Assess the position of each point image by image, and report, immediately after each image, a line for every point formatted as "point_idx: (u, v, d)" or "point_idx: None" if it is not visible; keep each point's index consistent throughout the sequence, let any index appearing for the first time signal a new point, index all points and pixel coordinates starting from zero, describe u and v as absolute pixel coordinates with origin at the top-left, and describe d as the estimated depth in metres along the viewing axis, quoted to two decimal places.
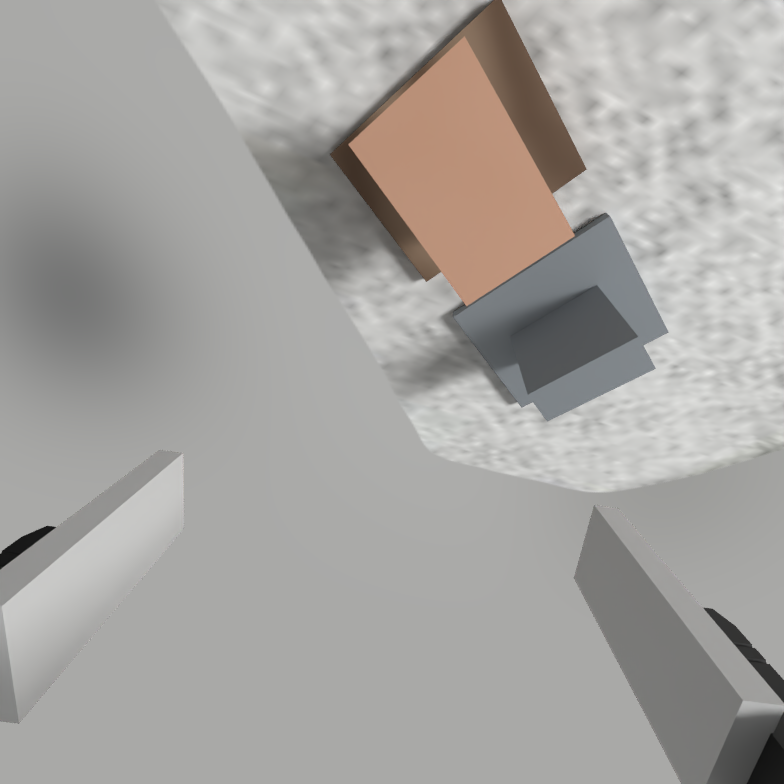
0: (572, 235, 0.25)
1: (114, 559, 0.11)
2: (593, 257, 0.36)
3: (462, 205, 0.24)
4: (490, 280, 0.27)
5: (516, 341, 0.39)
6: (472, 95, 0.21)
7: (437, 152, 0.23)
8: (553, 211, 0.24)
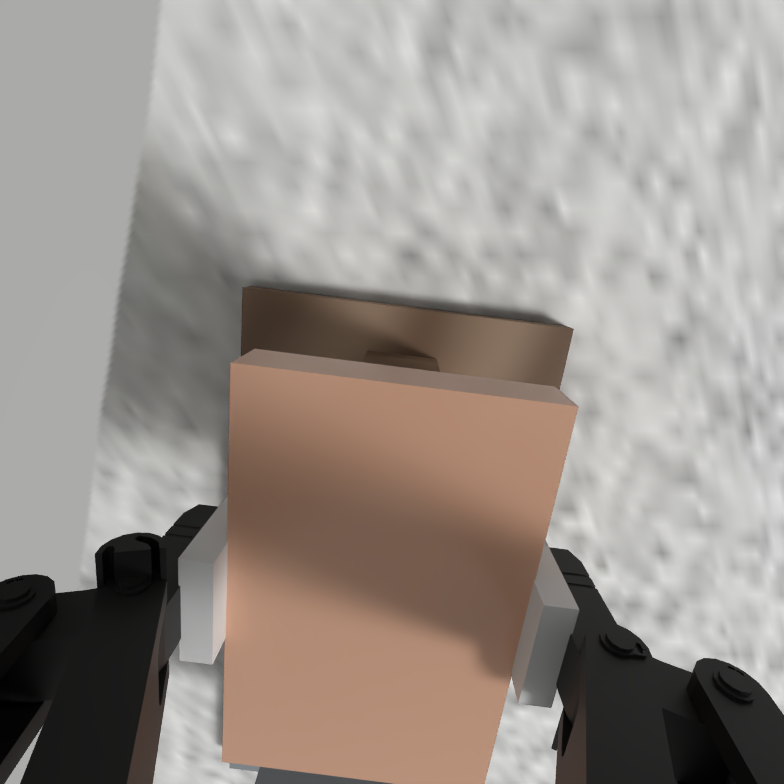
0: None
1: None
2: None
3: (350, 624, 0.11)
4: (297, 756, 0.12)
5: None
6: (511, 494, 0.10)
7: (380, 517, 0.10)
8: (480, 742, 0.12)
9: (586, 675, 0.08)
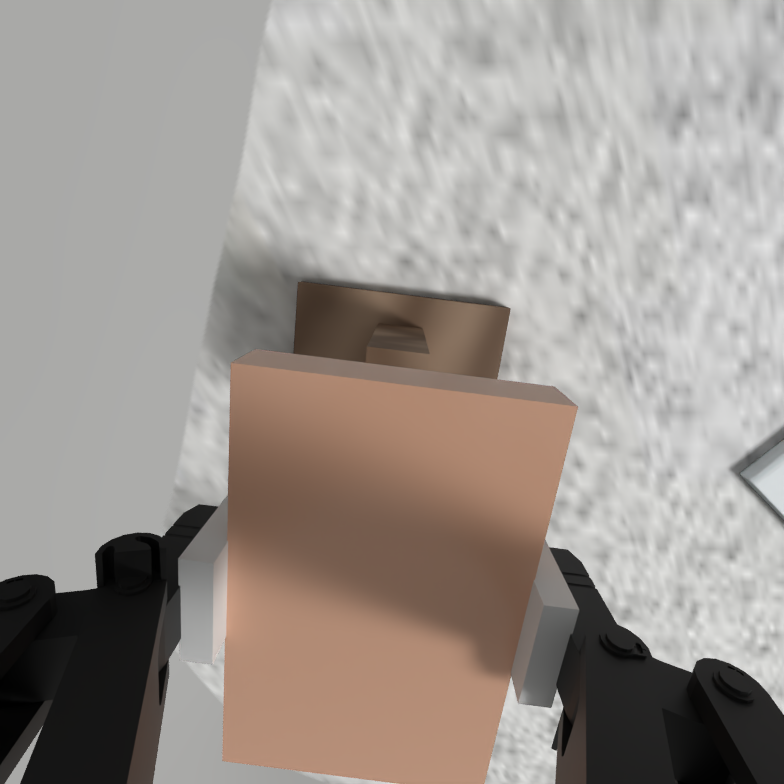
0: None
1: None
2: None
3: (350, 624, 0.11)
4: (297, 756, 0.12)
5: None
6: (511, 493, 0.10)
7: (380, 517, 0.10)
8: (480, 741, 0.12)
9: (586, 675, 0.08)
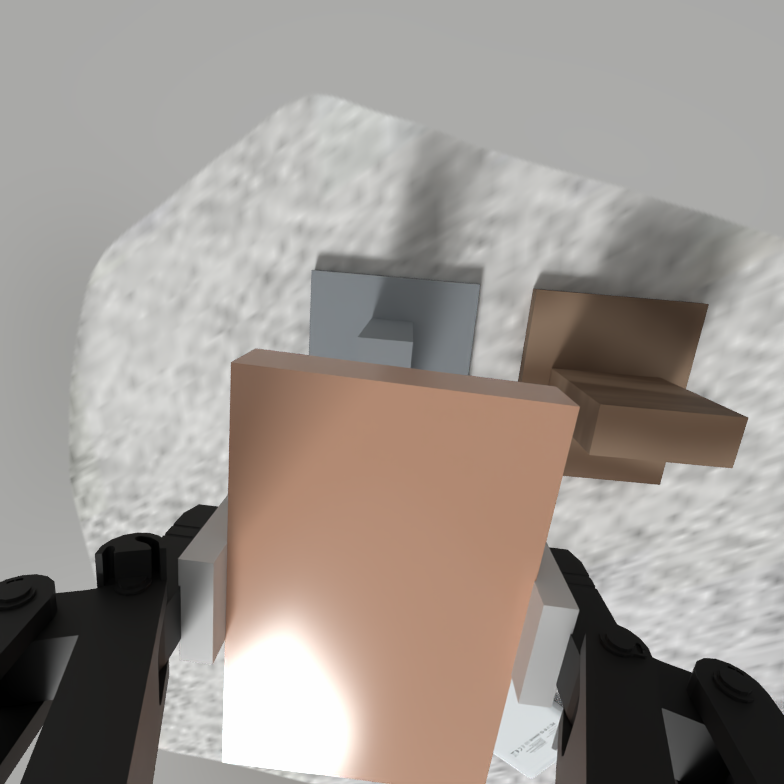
0: None
1: None
2: None
3: (350, 624, 0.11)
4: (297, 757, 0.12)
5: None
6: (512, 494, 0.10)
7: (380, 517, 0.10)
8: (481, 742, 0.12)
9: (586, 675, 0.08)
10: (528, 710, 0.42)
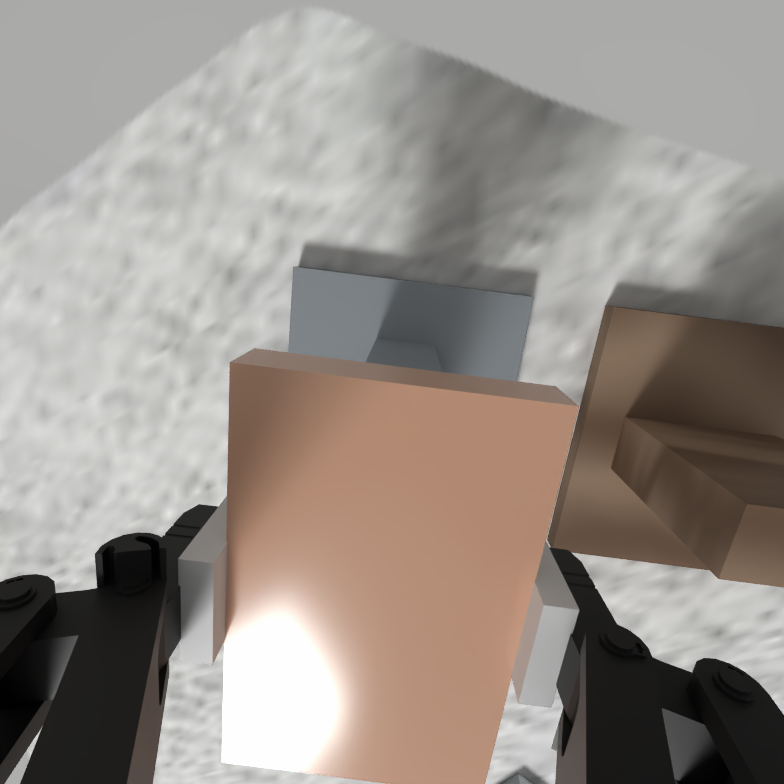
0: None
1: None
2: None
3: (350, 624, 0.11)
4: (297, 757, 0.12)
5: None
6: (512, 494, 0.10)
7: (380, 517, 0.10)
8: (481, 742, 0.12)
9: (586, 675, 0.08)
10: None
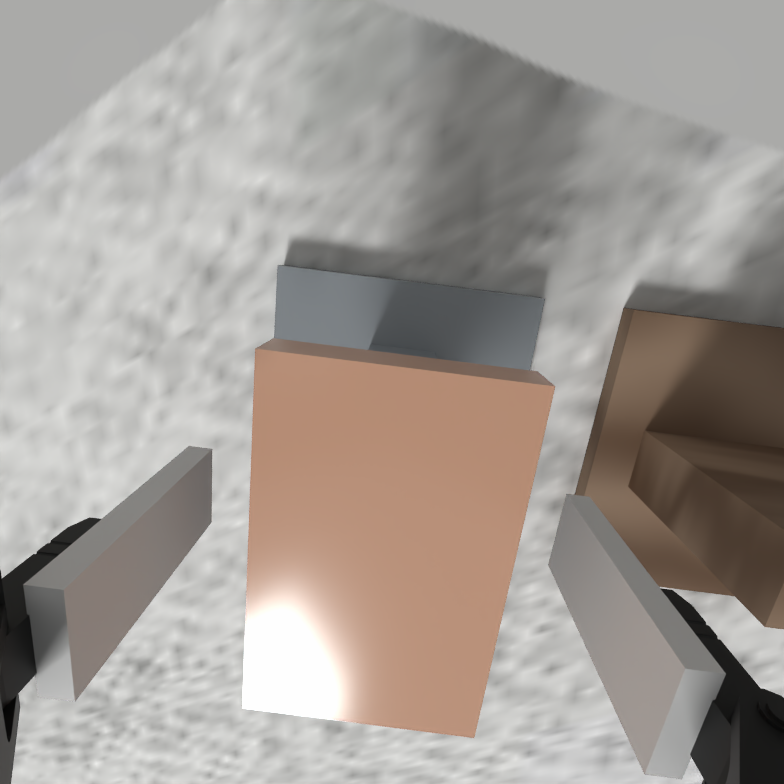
0: (471, 734, 0.13)
1: (154, 549, 0.12)
2: None
3: (357, 581, 0.12)
4: (309, 703, 0.13)
5: None
6: (498, 463, 0.11)
7: (384, 485, 0.11)
8: (472, 689, 0.13)
9: (740, 744, 0.07)
10: None
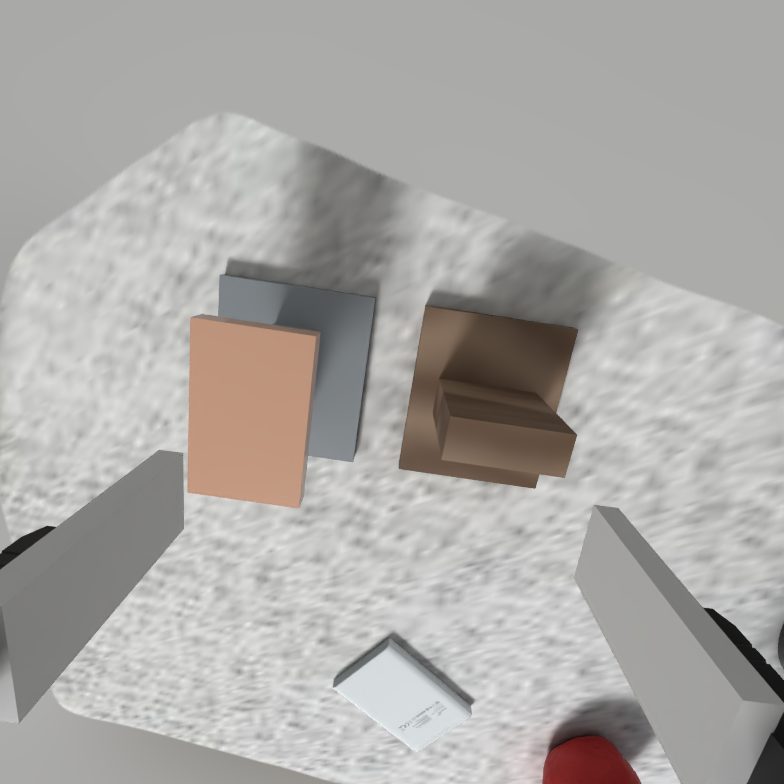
0: (297, 506, 0.28)
1: (114, 559, 0.11)
2: (330, 434, 0.38)
3: (238, 425, 0.27)
4: (219, 489, 0.28)
5: None
6: (296, 370, 0.26)
7: (248, 379, 0.26)
8: (295, 481, 0.28)
9: None
10: (415, 689, 0.46)
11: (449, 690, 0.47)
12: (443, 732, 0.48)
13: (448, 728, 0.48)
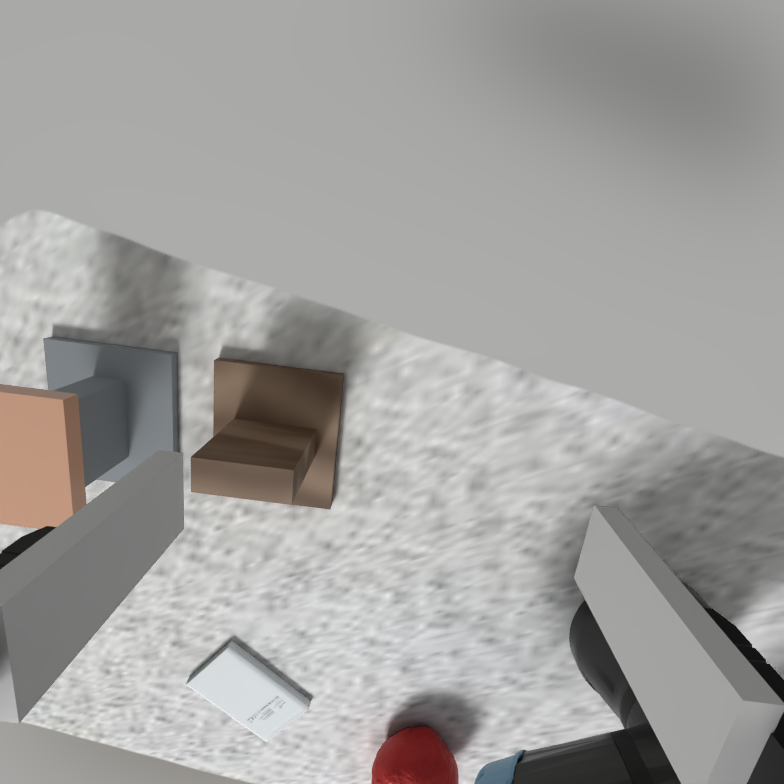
0: None
1: (114, 559, 0.11)
2: None
3: (16, 468, 0.34)
4: (10, 519, 0.35)
5: (116, 387, 0.42)
6: (52, 425, 0.33)
7: (17, 433, 0.33)
8: (68, 511, 0.35)
9: None
10: (256, 685, 0.53)
11: (289, 686, 0.53)
12: (286, 724, 0.54)
13: (290, 720, 0.54)
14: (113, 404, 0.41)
